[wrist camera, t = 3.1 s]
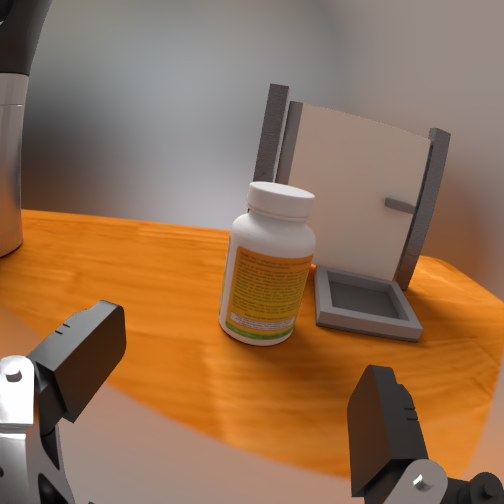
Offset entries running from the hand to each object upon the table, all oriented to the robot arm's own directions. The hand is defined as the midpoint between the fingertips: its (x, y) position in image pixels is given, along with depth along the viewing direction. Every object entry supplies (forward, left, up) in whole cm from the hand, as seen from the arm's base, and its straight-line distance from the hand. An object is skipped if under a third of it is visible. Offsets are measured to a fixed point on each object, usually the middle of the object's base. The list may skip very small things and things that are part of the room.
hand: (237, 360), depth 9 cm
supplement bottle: (0, +11, -6) cm, 13 cm away
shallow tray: (+9, +17, -6) cm, 20 cm away
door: (+6, +23, -5) cm, 24 cm away
